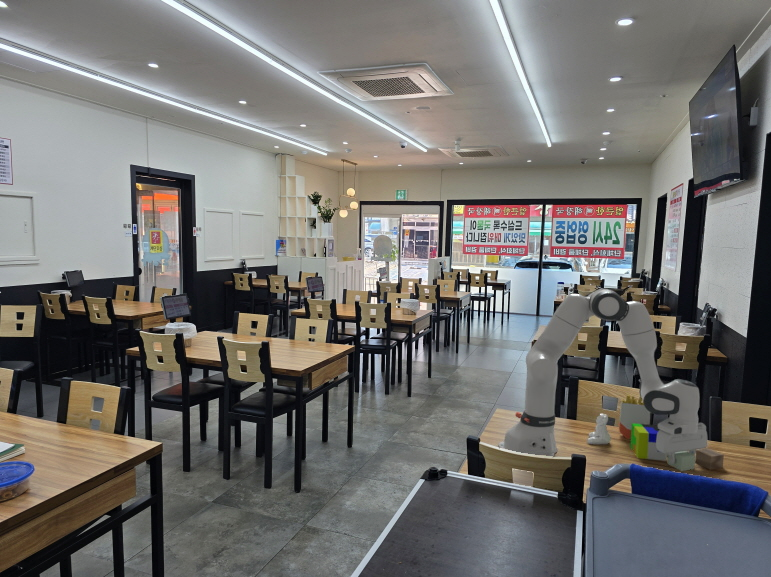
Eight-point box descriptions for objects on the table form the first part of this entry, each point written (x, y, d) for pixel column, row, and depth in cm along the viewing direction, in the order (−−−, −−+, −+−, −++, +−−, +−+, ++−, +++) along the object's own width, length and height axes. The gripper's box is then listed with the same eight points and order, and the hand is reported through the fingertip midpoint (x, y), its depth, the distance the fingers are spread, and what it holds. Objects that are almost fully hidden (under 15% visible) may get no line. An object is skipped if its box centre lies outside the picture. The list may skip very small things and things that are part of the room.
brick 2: (710, 470, 180) (711, 456, 180) (695, 463, 186) (696, 449, 185) (722, 468, 182) (723, 454, 181) (707, 461, 188) (708, 448, 187)
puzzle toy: (666, 460, 187) (668, 434, 186) (637, 458, 189) (639, 432, 188) (657, 450, 197) (659, 425, 196) (630, 447, 199) (631, 423, 198)
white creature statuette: (589, 436, 211) (590, 408, 210) (611, 439, 207) (613, 411, 206) (586, 443, 202) (588, 414, 201) (610, 448, 198) (611, 418, 197)
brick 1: (681, 470, 179) (682, 457, 178) (667, 463, 184) (668, 450, 184) (694, 468, 180) (695, 455, 180) (680, 461, 186) (681, 448, 186)
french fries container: (618, 433, 214) (620, 392, 212) (647, 437, 210) (649, 395, 208) (619, 437, 209) (621, 395, 208) (648, 441, 205) (651, 398, 204)
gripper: (698, 419, 187) (695, 455, 188) (654, 424, 181) (651, 461, 182) (713, 425, 181) (711, 462, 182) (668, 430, 175) (666, 468, 176)
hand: (681, 461), depth 182 cm, fingers closed on brick 1, 6 cm apart
